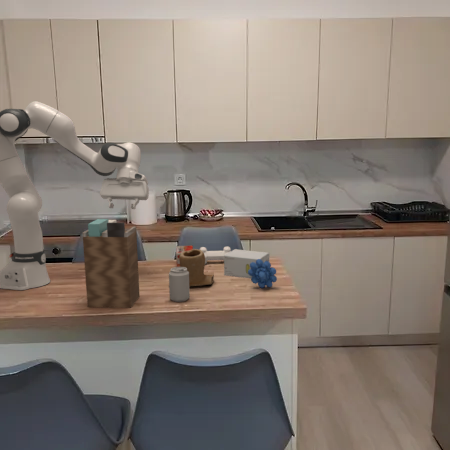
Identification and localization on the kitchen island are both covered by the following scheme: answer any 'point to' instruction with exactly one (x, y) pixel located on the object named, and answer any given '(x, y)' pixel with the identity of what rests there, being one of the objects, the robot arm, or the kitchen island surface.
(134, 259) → the wooden desk organizer
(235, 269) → the supplement box
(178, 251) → the medicine box
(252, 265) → the blue bumpy cluster
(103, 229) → the teal and white bar
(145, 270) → the kitchen island surface
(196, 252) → the tan boot
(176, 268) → the can
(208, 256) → the white bone
